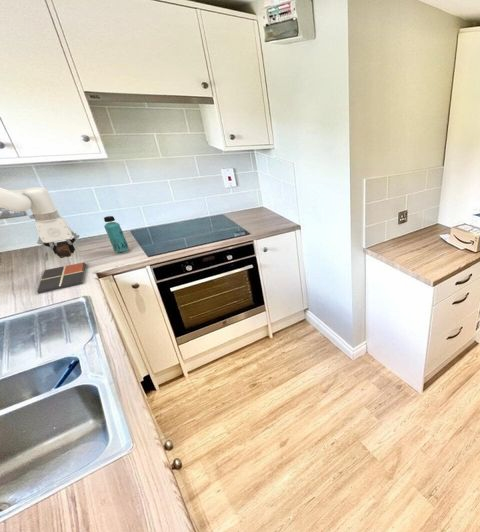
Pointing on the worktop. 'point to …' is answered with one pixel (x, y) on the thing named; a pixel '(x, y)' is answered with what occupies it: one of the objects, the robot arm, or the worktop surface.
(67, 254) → the brick
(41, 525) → the worktop surface
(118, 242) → the beverage bottle
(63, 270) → the board
